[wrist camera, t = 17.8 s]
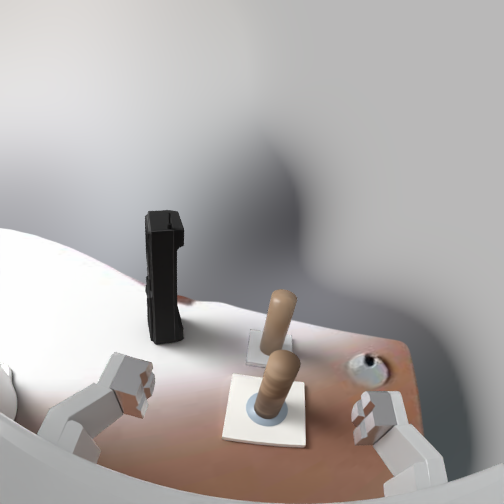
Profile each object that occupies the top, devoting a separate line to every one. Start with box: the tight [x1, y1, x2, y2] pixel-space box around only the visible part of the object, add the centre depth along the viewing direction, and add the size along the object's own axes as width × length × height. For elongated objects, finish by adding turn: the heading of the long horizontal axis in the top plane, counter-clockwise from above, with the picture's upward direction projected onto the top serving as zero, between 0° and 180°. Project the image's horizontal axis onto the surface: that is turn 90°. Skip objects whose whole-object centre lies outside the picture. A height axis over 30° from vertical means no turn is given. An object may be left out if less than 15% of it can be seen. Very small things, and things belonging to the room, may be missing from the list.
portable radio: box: [145, 210, 184, 344], centre depth 47 cm, size 8×6×25 cm
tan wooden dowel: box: [246, 289, 297, 368], centre depth 49 cm, size 8×8×13 cm
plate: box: [222, 373, 306, 448], centre depth 41 cm, size 12×12×1 cm
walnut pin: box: [254, 350, 300, 419], centre depth 37 cm, size 4×4×12 cm
